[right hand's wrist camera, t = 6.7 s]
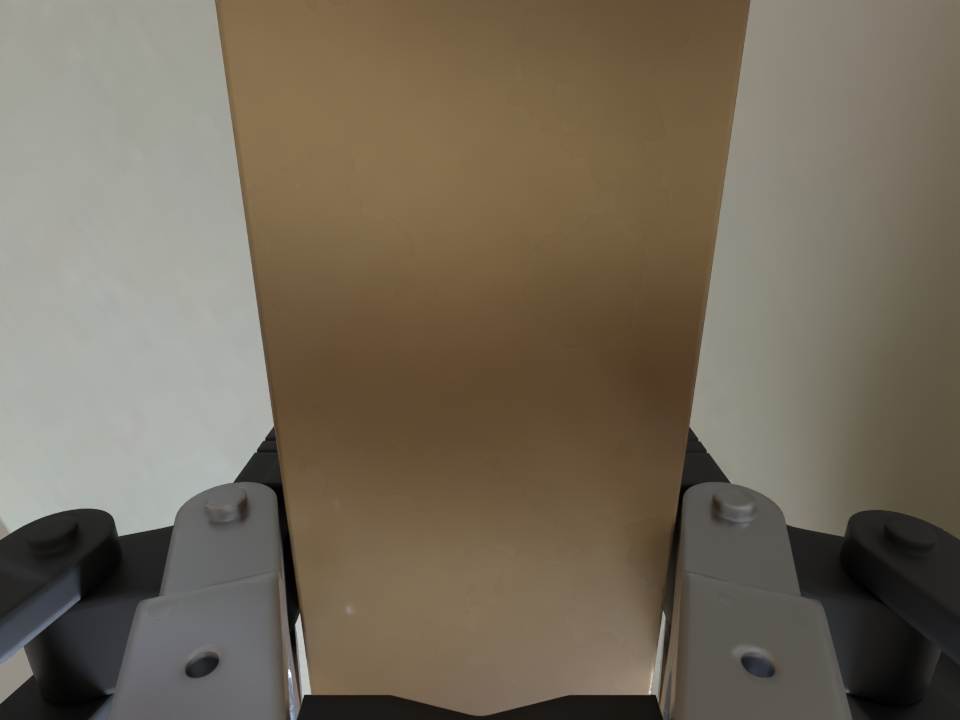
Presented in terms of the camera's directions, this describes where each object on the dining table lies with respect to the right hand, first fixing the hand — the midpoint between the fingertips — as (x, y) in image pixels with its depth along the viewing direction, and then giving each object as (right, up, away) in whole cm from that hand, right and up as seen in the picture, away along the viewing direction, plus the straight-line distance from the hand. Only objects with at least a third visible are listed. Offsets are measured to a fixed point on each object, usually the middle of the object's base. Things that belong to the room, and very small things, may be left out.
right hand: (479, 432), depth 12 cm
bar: (0, +26, -6) cm, 26 cm away
